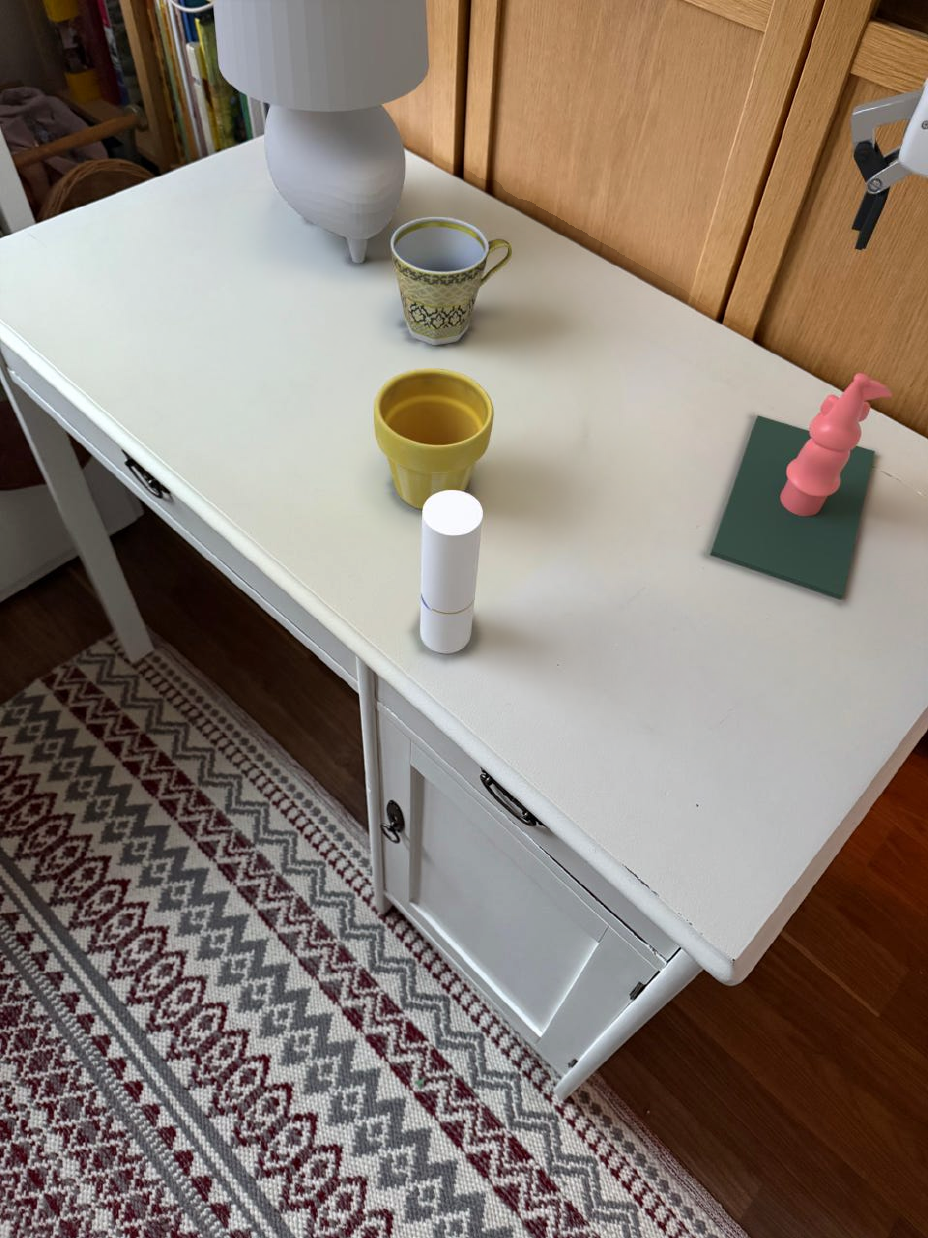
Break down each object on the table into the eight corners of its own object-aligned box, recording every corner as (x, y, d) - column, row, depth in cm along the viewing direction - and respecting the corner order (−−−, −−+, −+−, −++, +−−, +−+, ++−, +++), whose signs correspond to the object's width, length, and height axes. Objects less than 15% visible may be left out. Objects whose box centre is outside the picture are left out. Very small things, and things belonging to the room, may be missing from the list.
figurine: (830, 487, 88) (898, 362, 75) (827, 526, 85) (898, 401, 73) (777, 475, 88) (836, 349, 76) (772, 513, 85) (834, 387, 73)
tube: (480, 626, 77) (494, 506, 65) (453, 662, 75) (462, 544, 62) (438, 603, 78) (443, 481, 66) (410, 637, 76) (410, 517, 64)
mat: (872, 455, 92) (874, 450, 91) (840, 599, 81) (843, 595, 80) (756, 419, 94) (757, 414, 93) (709, 555, 83) (711, 550, 82)
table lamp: (459, 266, 106) (482, -173, 74) (283, 307, 100) (223, -152, 68) (384, 169, 118) (376, -248, 85) (222, 200, 112) (146, -236, 79)
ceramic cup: (406, 363, 96) (406, 279, 88) (380, 306, 101) (378, 223, 93) (520, 342, 99) (531, 260, 91) (489, 288, 104) (496, 206, 96)
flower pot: (476, 442, 90) (483, 362, 82) (494, 521, 84) (503, 443, 76) (371, 450, 88) (368, 369, 80) (382, 530, 82) (380, 452, 74)
